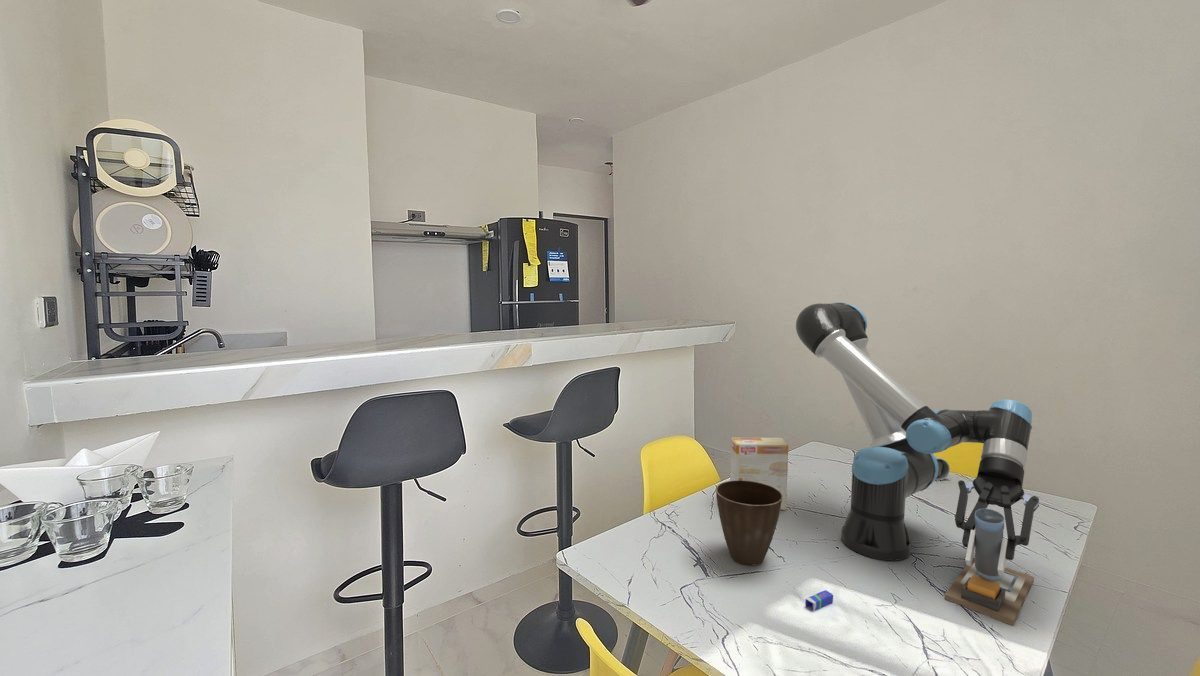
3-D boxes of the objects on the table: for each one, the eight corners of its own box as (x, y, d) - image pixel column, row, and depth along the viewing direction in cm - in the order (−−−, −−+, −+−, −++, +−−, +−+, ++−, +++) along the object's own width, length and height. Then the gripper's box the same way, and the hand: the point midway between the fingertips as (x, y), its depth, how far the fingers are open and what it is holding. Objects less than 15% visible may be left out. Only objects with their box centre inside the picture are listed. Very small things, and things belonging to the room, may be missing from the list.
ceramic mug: (933, 472, 175) (934, 450, 174) (949, 481, 167) (950, 458, 166) (902, 472, 175) (903, 451, 174) (918, 481, 167) (919, 459, 166)
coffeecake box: (779, 500, 151) (781, 437, 149) (786, 510, 144) (789, 444, 142) (728, 499, 152) (730, 436, 150) (734, 509, 145) (736, 443, 143)
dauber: (986, 584, 100) (987, 525, 96) (968, 568, 105) (969, 511, 101) (1008, 580, 100) (1010, 520, 96) (990, 564, 105) (991, 506, 101)
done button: (994, 601, 98) (995, 591, 98) (967, 591, 101) (967, 582, 101) (999, 592, 101) (1000, 583, 101) (972, 583, 104) (973, 574, 104)
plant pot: (702, 547, 123) (703, 484, 122) (752, 537, 128) (754, 476, 127) (739, 580, 109) (741, 509, 108) (794, 567, 115) (796, 499, 113)
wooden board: (1013, 625, 95) (1014, 610, 94) (944, 598, 103) (945, 585, 103) (1033, 581, 109) (1034, 567, 109) (971, 560, 117) (972, 548, 117)
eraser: (804, 607, 100) (805, 597, 100) (824, 598, 103) (825, 589, 103) (812, 612, 99) (813, 602, 99) (833, 603, 101) (833, 594, 101)
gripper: (1056, 484, 104) (1043, 593, 94) (955, 464, 116) (934, 559, 106) (1056, 465, 100) (1043, 578, 89) (951, 446, 112) (929, 544, 102)
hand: (984, 567), depth 98 cm, fingers closed on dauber, 4 cm apart
